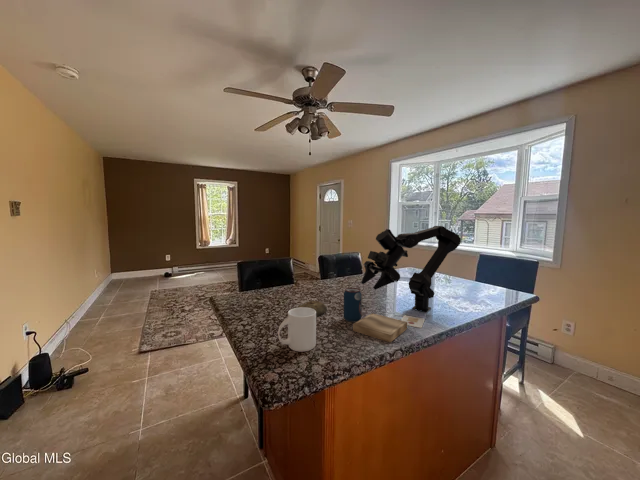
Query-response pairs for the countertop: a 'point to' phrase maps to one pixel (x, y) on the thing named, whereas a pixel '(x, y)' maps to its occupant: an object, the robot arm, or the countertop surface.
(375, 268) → the robot arm
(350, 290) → the soda can
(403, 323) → the oak slab
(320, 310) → the bread roll
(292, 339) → the mug
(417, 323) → the page
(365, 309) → the countertop surface
